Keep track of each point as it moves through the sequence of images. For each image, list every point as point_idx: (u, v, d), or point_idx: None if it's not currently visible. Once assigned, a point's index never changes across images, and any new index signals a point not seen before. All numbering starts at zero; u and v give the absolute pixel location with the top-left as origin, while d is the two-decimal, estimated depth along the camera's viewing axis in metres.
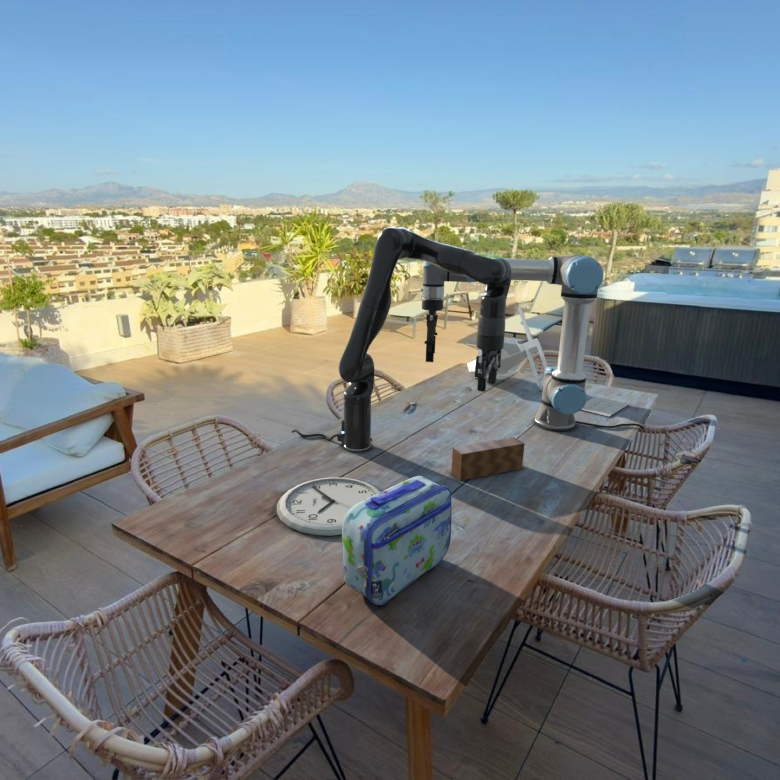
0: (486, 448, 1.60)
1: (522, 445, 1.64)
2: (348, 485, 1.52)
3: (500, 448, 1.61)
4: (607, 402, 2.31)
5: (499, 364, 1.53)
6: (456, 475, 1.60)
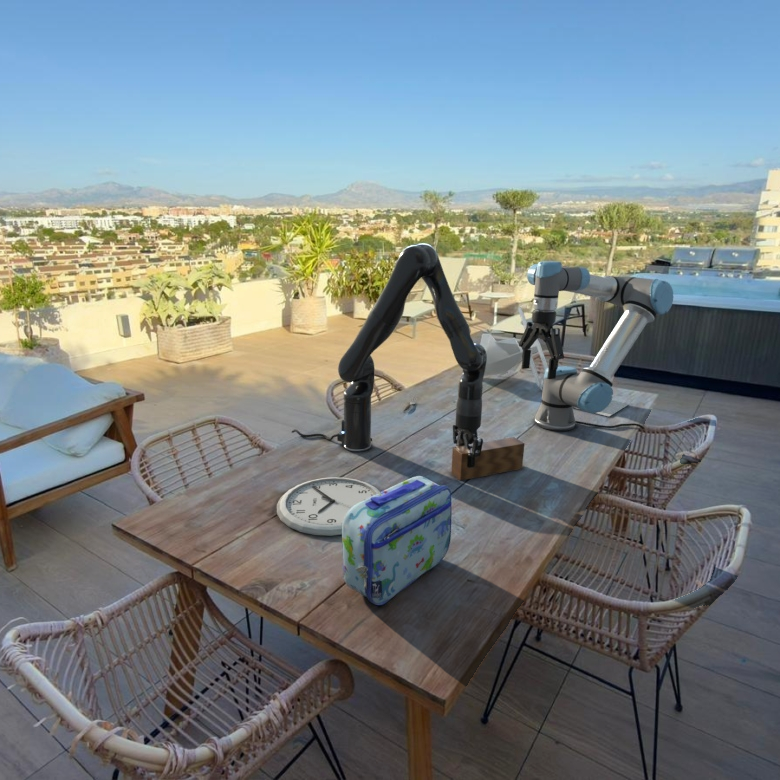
0: (486, 448, 1.60)
1: (522, 445, 1.64)
2: (348, 485, 1.52)
3: (500, 448, 1.61)
4: None
5: None
6: (456, 475, 1.60)
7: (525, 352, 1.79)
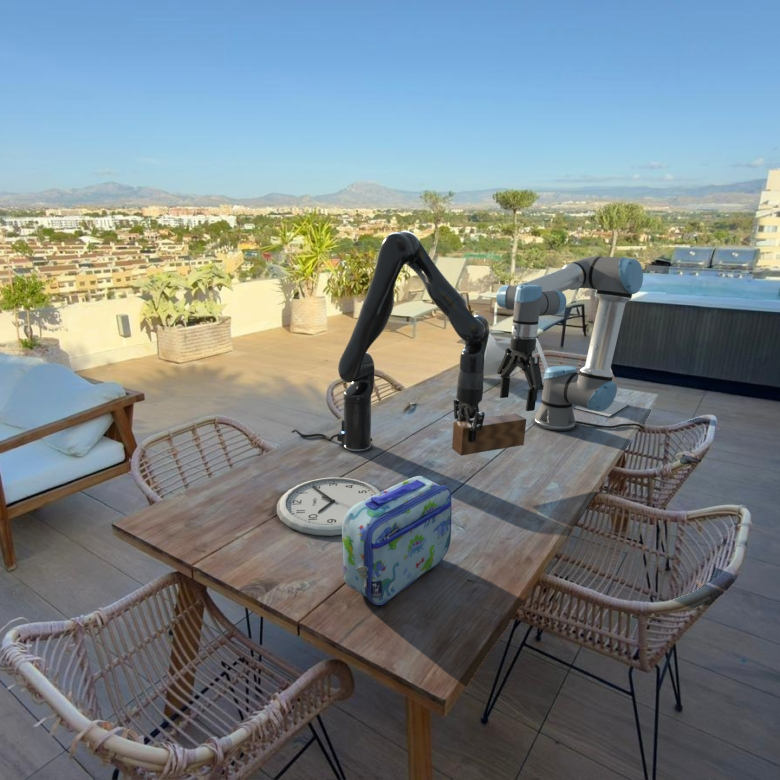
0: (487, 423, 1.57)
1: (524, 421, 1.62)
2: (348, 485, 1.52)
3: (502, 423, 1.59)
4: None
5: None
6: (457, 450, 1.58)
7: (504, 380, 1.67)
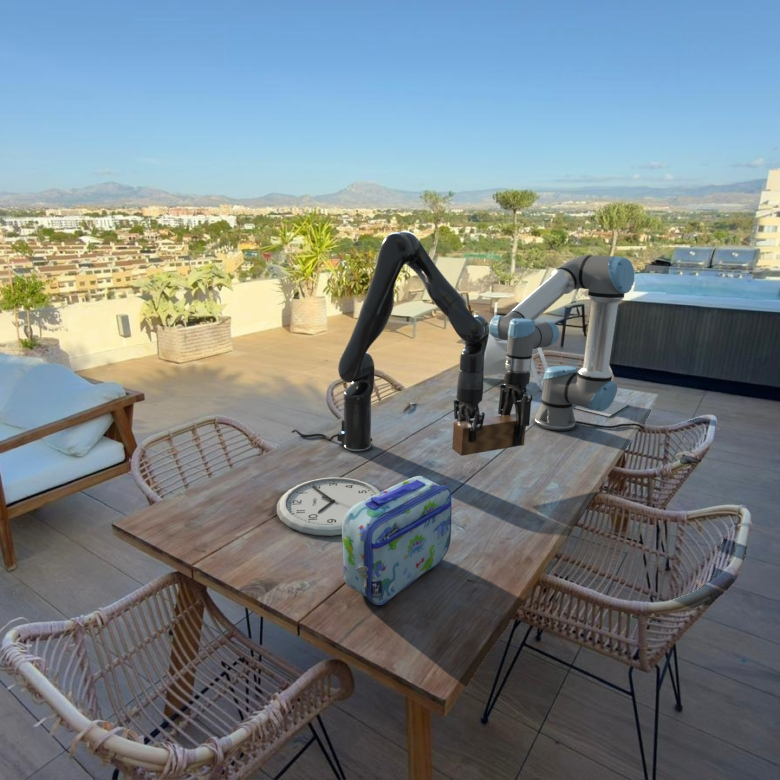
0: (488, 423, 1.57)
1: None
2: (348, 485, 1.52)
3: (502, 424, 1.58)
4: None
5: None
6: (457, 450, 1.57)
7: None
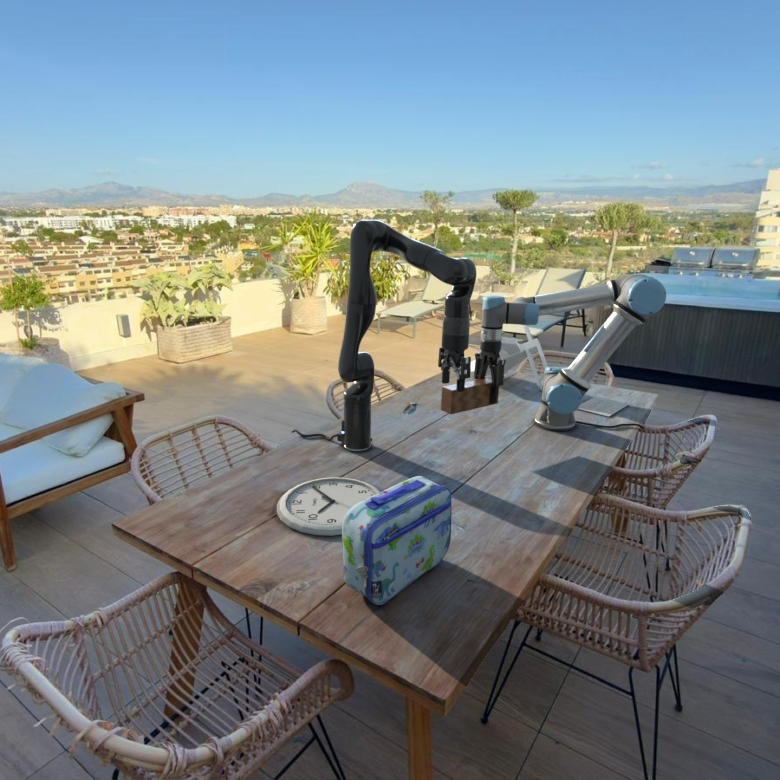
0: (470, 385, 1.85)
1: None
2: (348, 485, 1.52)
3: (481, 385, 1.87)
4: (607, 402, 2.31)
5: None
6: (446, 410, 1.84)
7: None
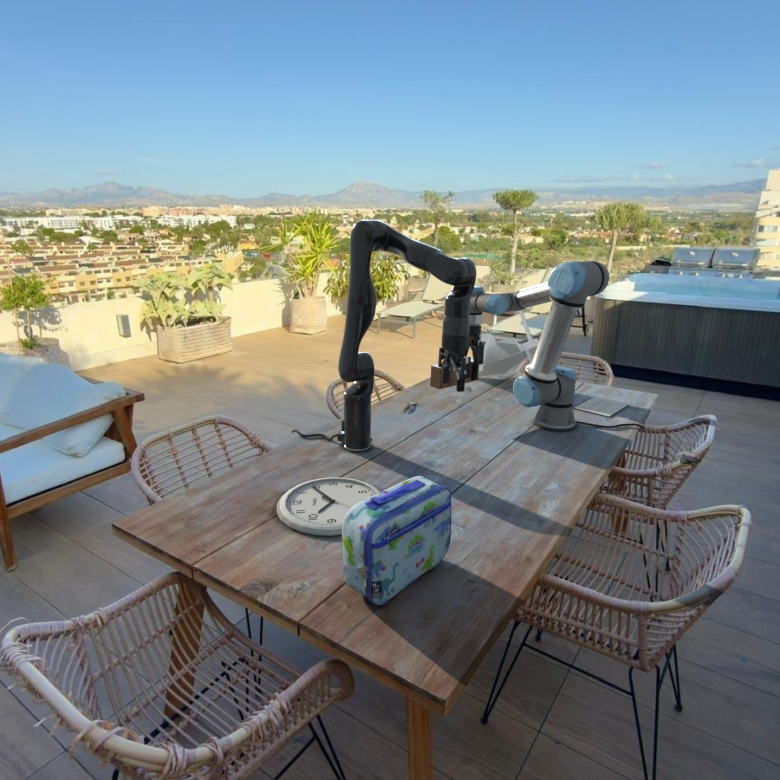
0: None
1: None
2: (348, 485, 1.52)
3: None
4: (607, 402, 2.31)
5: None
6: (435, 386, 2.10)
7: None
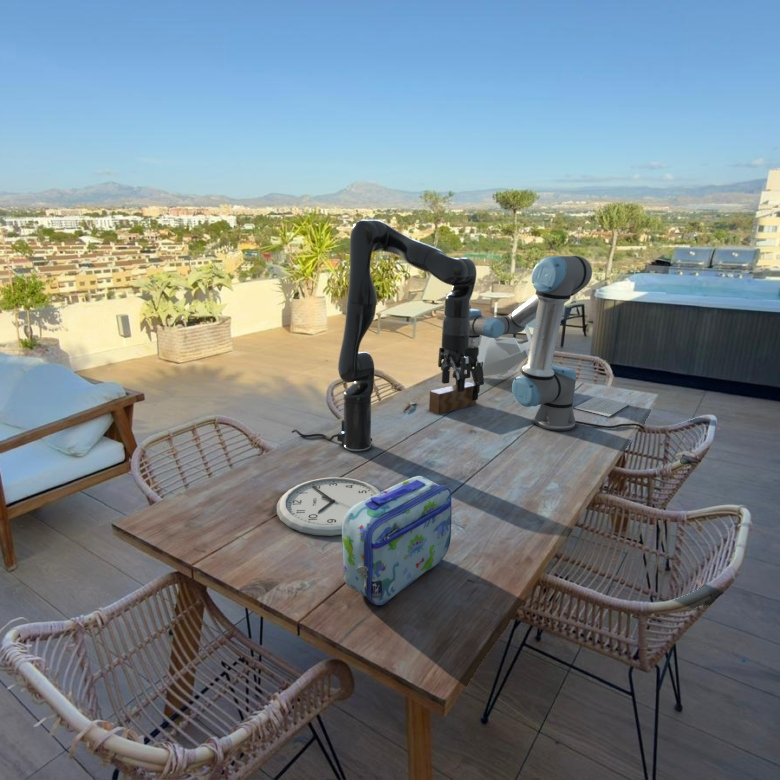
0: (453, 389, 2.17)
1: None
2: (348, 485, 1.52)
3: None
4: (607, 402, 2.31)
5: None
6: (434, 411, 2.15)
7: None
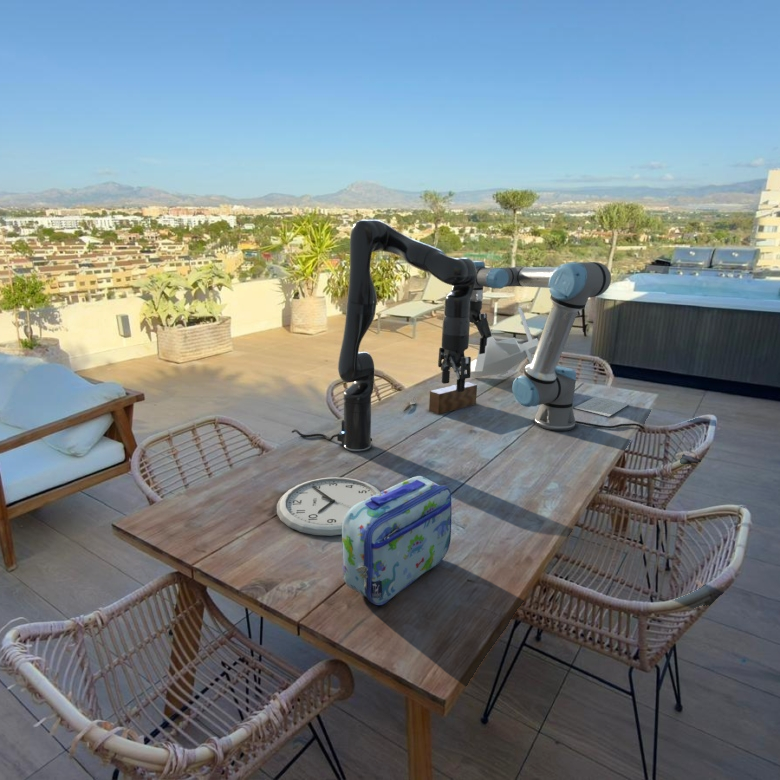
0: (453, 389, 2.17)
1: (476, 386, 2.24)
2: (348, 485, 1.52)
3: None
4: (607, 402, 2.31)
5: None
6: (434, 411, 2.15)
7: None
